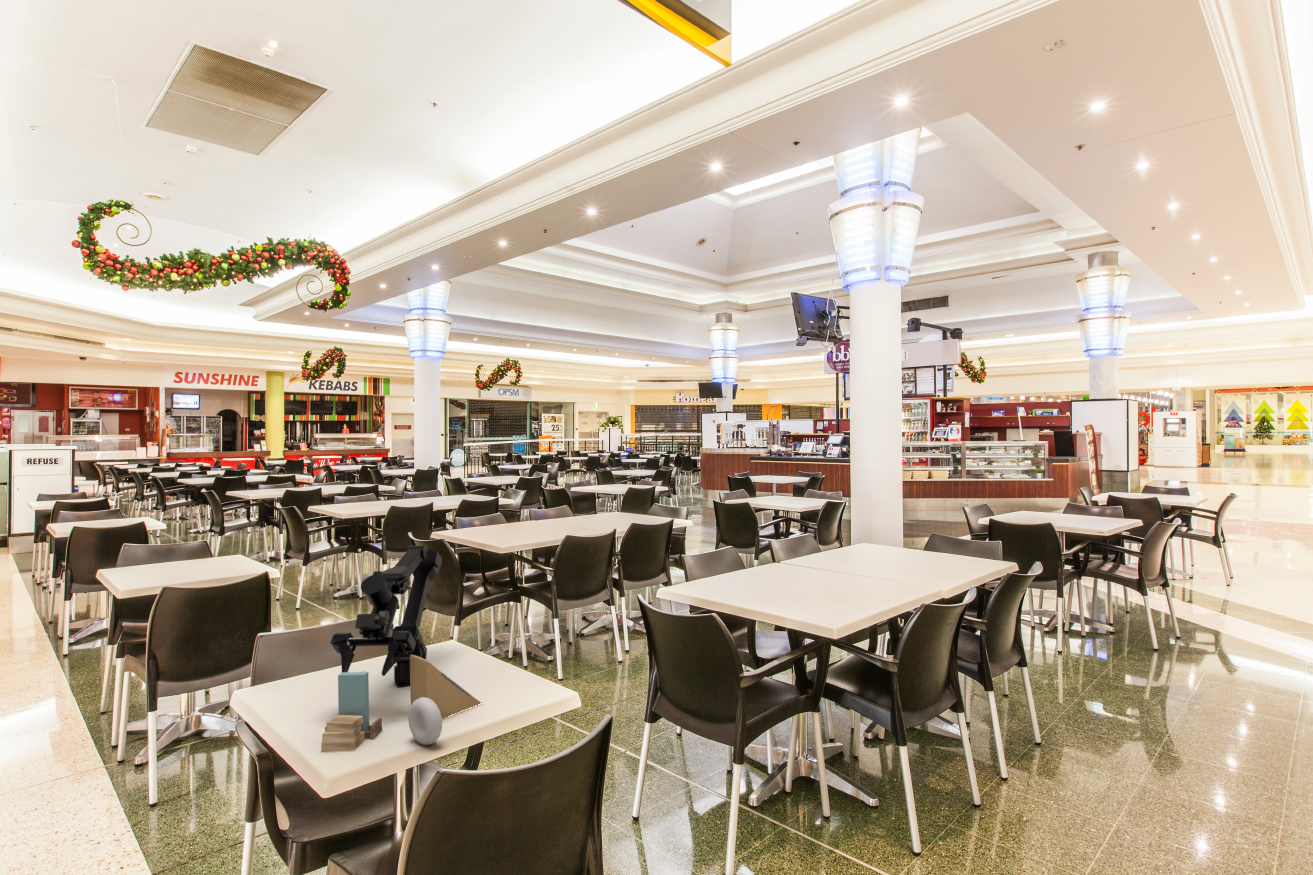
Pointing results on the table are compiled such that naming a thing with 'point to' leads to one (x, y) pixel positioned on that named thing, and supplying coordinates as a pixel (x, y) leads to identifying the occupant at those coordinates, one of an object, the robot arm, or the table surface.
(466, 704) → the sandwich container
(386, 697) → the table surface
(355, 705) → the teal rectangular block
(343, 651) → the robot arm
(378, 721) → the rack
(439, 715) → the donut
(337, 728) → the offcut stack
